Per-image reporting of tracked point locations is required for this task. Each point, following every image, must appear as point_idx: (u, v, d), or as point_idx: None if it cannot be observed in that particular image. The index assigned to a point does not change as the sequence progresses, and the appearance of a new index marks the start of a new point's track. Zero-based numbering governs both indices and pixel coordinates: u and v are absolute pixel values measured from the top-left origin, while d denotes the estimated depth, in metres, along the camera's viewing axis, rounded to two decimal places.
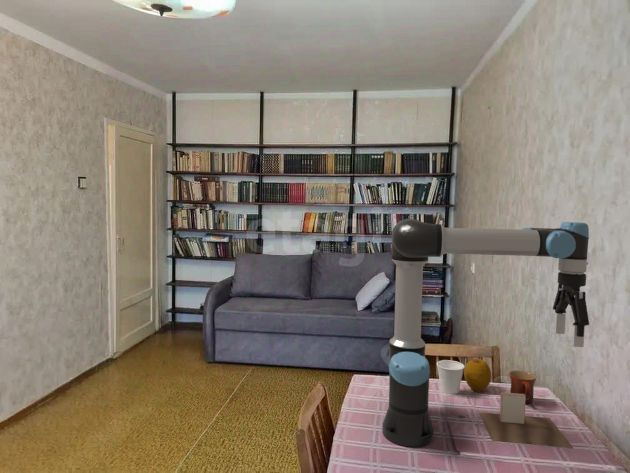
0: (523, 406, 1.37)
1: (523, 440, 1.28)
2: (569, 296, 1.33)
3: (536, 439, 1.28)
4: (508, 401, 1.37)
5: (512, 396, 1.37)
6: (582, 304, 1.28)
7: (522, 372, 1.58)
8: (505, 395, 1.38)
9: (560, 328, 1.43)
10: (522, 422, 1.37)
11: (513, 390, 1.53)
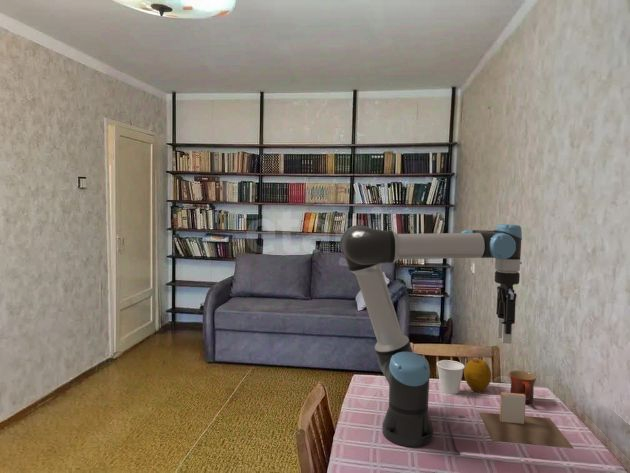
0: (523, 406, 1.37)
1: (523, 440, 1.28)
2: (503, 295, 1.43)
3: (536, 439, 1.28)
4: (508, 401, 1.37)
5: (512, 396, 1.37)
6: (511, 305, 1.39)
7: (522, 372, 1.58)
8: (505, 395, 1.38)
9: (502, 332, 1.48)
10: (522, 422, 1.37)
11: (513, 390, 1.53)
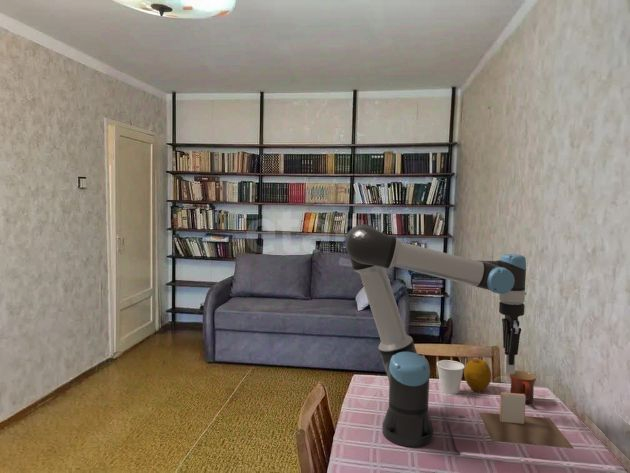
0: (523, 406, 1.37)
1: (523, 440, 1.28)
2: (508, 327, 1.41)
3: (536, 439, 1.28)
4: (508, 401, 1.37)
5: (512, 396, 1.37)
6: (515, 339, 1.38)
7: (522, 372, 1.58)
8: (505, 395, 1.38)
9: None
10: (522, 422, 1.37)
11: (513, 390, 1.53)
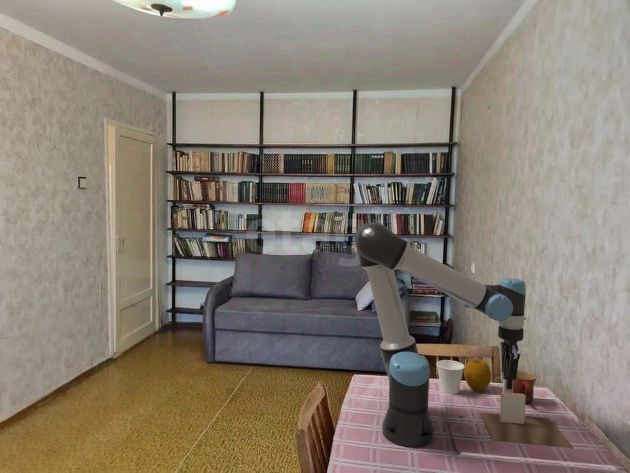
0: (523, 406, 1.37)
1: (523, 440, 1.28)
2: (506, 351, 1.41)
3: (536, 439, 1.28)
4: (508, 401, 1.37)
5: (512, 396, 1.37)
6: (514, 364, 1.38)
7: (522, 372, 1.58)
8: (505, 395, 1.38)
9: None
10: (522, 422, 1.37)
11: (513, 390, 1.53)
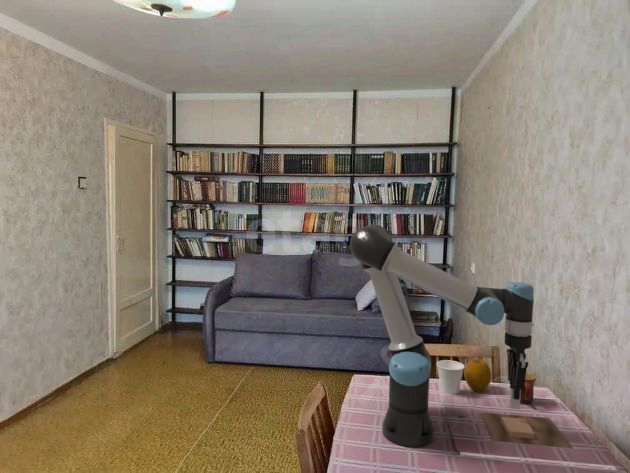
0: None
1: (523, 440, 1.28)
2: (513, 359, 1.33)
3: (536, 439, 1.28)
4: None
5: (520, 437, 1.29)
6: (521, 373, 1.30)
7: None
8: (512, 436, 1.29)
9: None
10: None
11: None
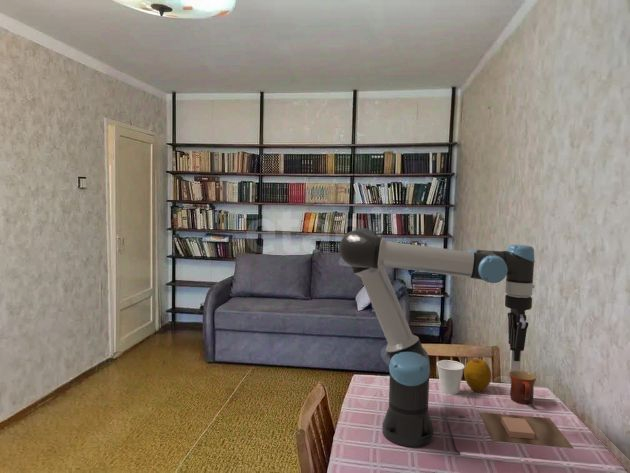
0: None
1: (523, 440, 1.28)
2: (514, 321, 1.34)
3: (536, 439, 1.28)
4: None
5: (520, 437, 1.29)
6: (522, 333, 1.31)
7: (522, 372, 1.58)
8: (512, 436, 1.29)
9: None
10: None
11: (513, 390, 1.53)
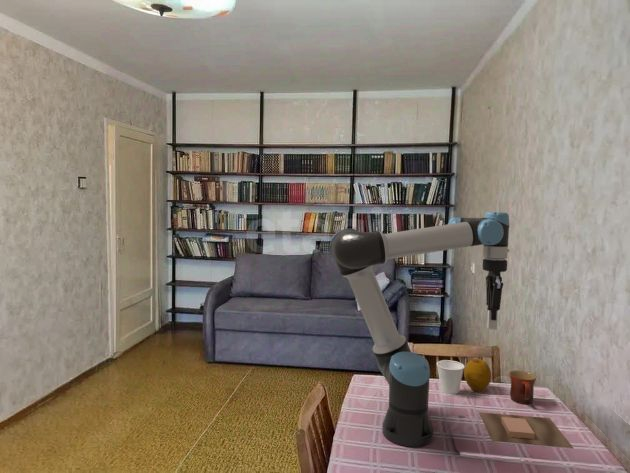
0: None
1: (523, 440, 1.28)
2: (490, 282, 1.44)
3: (536, 439, 1.28)
4: None
5: (520, 437, 1.29)
6: (497, 293, 1.41)
7: (522, 372, 1.58)
8: (512, 436, 1.29)
9: None
10: None
11: (513, 390, 1.53)
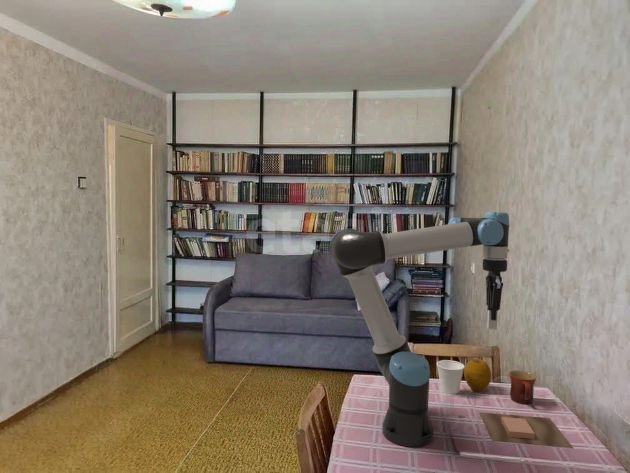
0: None
1: (523, 440, 1.28)
2: (490, 282, 1.44)
3: (536, 439, 1.28)
4: None
5: (520, 437, 1.29)
6: (497, 293, 1.41)
7: (522, 372, 1.58)
8: (512, 436, 1.29)
9: None
10: None
11: (513, 390, 1.53)
